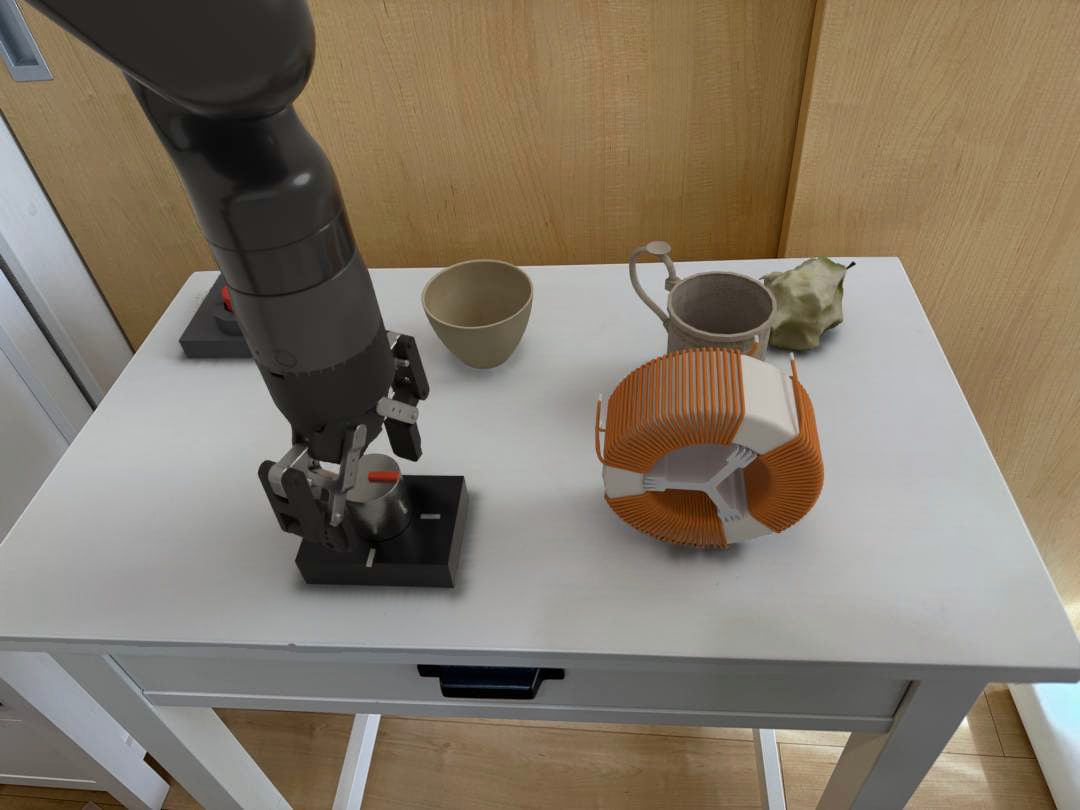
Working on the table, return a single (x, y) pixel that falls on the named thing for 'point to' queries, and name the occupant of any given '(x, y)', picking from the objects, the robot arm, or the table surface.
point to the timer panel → (400, 543)
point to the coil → (710, 448)
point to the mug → (710, 308)
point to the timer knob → (378, 499)
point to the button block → (214, 329)
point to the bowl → (479, 310)
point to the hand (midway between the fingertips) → (378, 498)
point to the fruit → (806, 302)
